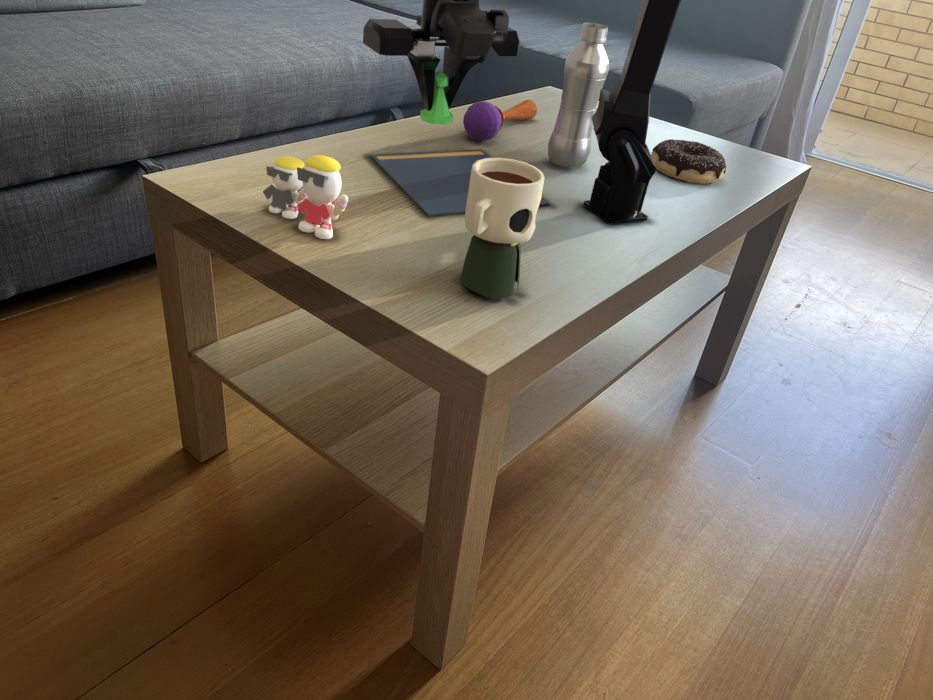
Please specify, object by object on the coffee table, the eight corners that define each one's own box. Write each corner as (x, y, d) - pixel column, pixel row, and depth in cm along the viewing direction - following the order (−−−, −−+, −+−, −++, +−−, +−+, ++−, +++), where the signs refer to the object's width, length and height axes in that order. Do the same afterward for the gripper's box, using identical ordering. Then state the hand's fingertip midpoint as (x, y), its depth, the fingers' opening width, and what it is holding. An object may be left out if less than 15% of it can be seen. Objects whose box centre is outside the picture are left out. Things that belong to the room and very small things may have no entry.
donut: (681, 156, 122) (688, 132, 120) (736, 183, 114) (745, 158, 112) (635, 162, 116) (642, 138, 114) (691, 191, 109) (699, 165, 106)
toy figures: (258, 207, 85) (256, 137, 80) (288, 198, 88) (288, 131, 83) (326, 246, 79) (327, 173, 75) (355, 235, 82) (359, 165, 78)
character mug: (492, 321, 71) (515, 198, 64) (432, 295, 74) (447, 174, 66) (540, 280, 79) (565, 167, 72) (484, 258, 82) (503, 147, 75)
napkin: (480, 151, 111) (481, 149, 111) (549, 205, 97) (550, 202, 97) (370, 156, 103) (370, 154, 103) (428, 216, 89) (428, 213, 89)
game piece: (449, 127, 91) (455, 77, 87) (416, 121, 91) (420, 72, 88) (455, 117, 94) (461, 69, 91) (423, 111, 94) (427, 64, 91)
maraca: (549, 101, 125) (495, 114, 109) (536, 133, 128) (482, 150, 112) (520, 85, 126) (463, 96, 110) (508, 118, 130) (451, 132, 114)
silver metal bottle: (539, 165, 109) (566, 24, 98) (551, 153, 115) (579, 17, 103) (580, 176, 108) (612, 34, 96) (590, 163, 113) (623, 27, 102)
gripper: (404, -17, 73) (394, 135, 82) (555, -9, 82) (531, 128, 90) (364, -37, 81) (358, 104, 90) (505, -27, 89) (488, 100, 98)
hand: (436, 109), depth 92 cm, fingers closed on game piece, 2 cm apart
